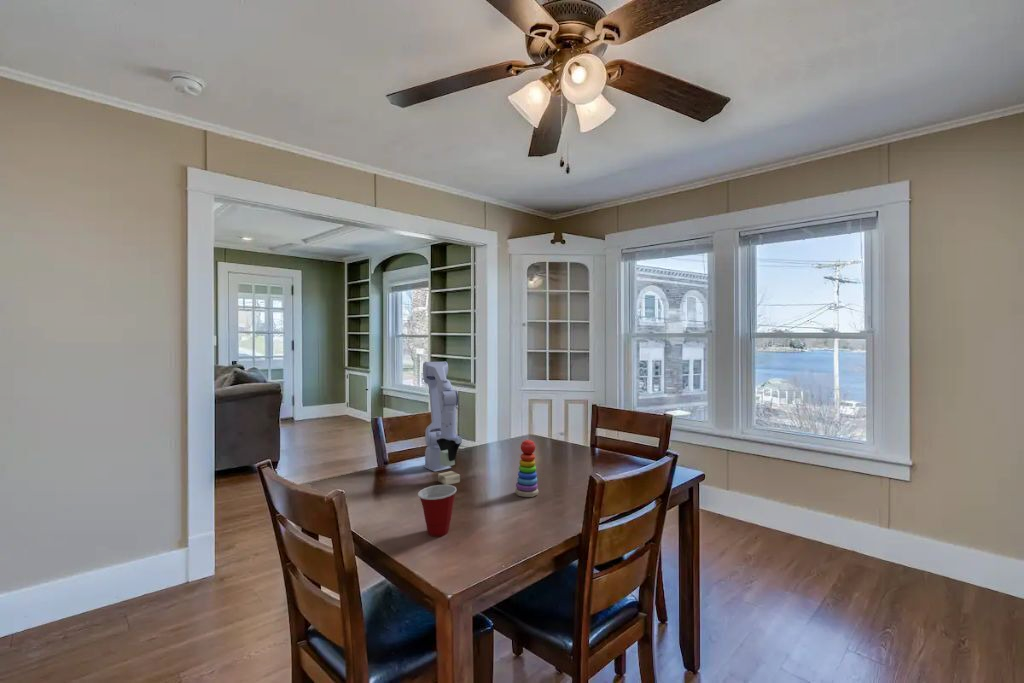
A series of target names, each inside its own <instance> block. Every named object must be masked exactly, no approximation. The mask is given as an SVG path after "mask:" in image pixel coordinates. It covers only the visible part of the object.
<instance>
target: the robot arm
mask: <svg viewBox="0 0 1024 683" xmlns="http://www.w3.org/2000/svg"><path fill="white" fill-rule="evenodd" d="M448 374H449V364H448V361H446V360H444V361H424V362H423V363H422V378H423V383H425V384H427V386H428V391H429V392H428V393H429V405H430V419H431V423H430V424H429V425H428V426H427V427H425V434H424V441H425V445H426V448H425V451H424V465H422V467H423V468H425V469H428V470H430V471H432V472H434V473H435V472H439V471H444V470H449V469H452V466H447V467H445V466H443V465H440V451H443V450H448V457H449V461H453V460H455V461H456V456H457V453H458V450H459V448H460V446H461V444H462V443H463V441H462V440H463V438H462V437H461V436H459V435H458V434H457V406H458V405H459V394H458V391H457V390H456V389H454V388H453V386H452V383H451V381H450V380H449V379H447V377H448Z"/></svg>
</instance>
